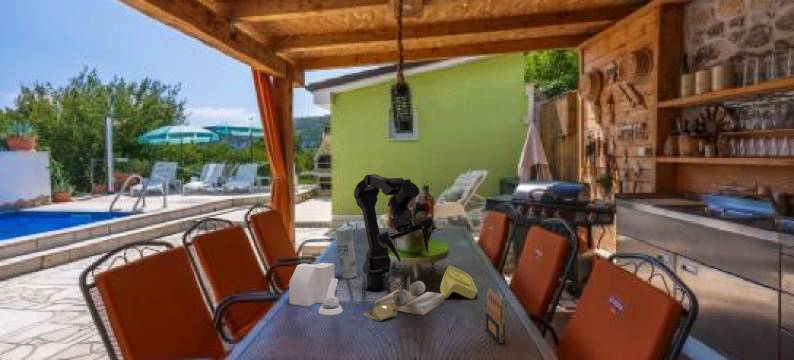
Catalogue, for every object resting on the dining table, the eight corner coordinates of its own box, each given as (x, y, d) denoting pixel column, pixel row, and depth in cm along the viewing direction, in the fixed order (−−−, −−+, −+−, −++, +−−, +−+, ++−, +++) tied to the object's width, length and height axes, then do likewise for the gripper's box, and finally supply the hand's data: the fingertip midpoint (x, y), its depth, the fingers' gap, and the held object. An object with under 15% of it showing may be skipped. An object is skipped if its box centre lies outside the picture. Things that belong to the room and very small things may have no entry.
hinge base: (373, 306, 161) (373, 288, 161) (397, 294, 175) (397, 277, 175) (423, 314, 153) (423, 296, 152) (444, 300, 167) (444, 283, 166)
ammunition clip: (485, 329, 140) (485, 287, 139) (492, 329, 140) (492, 287, 139) (498, 344, 129) (498, 299, 128) (505, 343, 129) (505, 298, 129)
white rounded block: (334, 298, 171) (334, 263, 171) (316, 307, 161) (315, 271, 161) (309, 294, 176) (308, 261, 175) (289, 303, 166) (288, 268, 165)
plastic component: (478, 293, 167) (452, 281, 167) (468, 312, 168) (442, 300, 168) (470, 274, 187) (446, 263, 187) (461, 291, 188) (437, 280, 188)
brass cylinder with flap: (382, 322, 146) (381, 308, 146) (363, 315, 153) (363, 301, 153) (397, 318, 150) (397, 303, 150) (378, 311, 157) (378, 297, 157)
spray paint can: (360, 274, 201) (355, 226, 198) (350, 279, 195) (345, 231, 192) (347, 272, 204) (342, 225, 201) (337, 278, 199) (332, 229, 196)
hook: (349, 288, 165) (349, 280, 159) (340, 323, 159) (340, 317, 153) (327, 283, 165) (326, 276, 159) (317, 318, 159) (316, 312, 153)
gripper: (366, 214, 155) (378, 260, 149) (422, 194, 153) (436, 240, 146) (377, 224, 165) (388, 268, 158) (430, 206, 163) (443, 250, 156)
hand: (413, 257), depth 154 cm, fingers open, 9 cm apart
